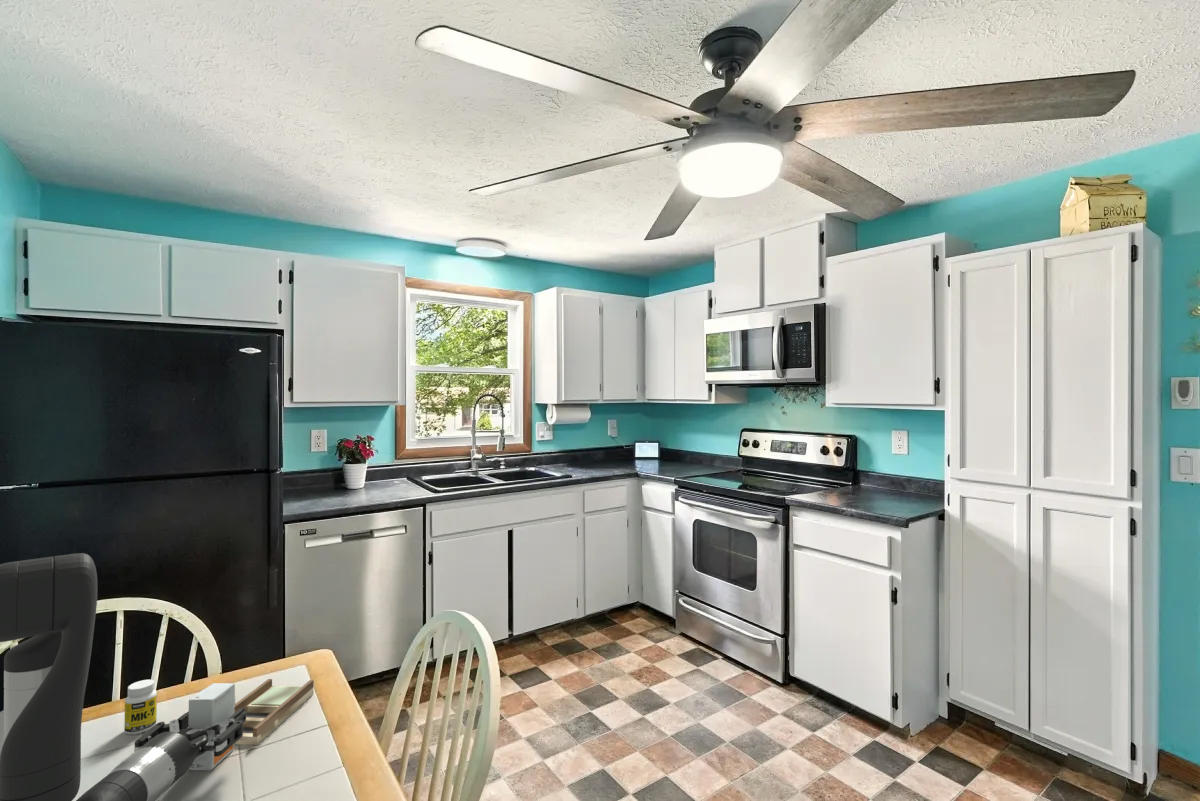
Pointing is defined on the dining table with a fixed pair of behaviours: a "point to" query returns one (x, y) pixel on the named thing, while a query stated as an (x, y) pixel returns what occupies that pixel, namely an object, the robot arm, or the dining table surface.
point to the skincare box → (211, 718)
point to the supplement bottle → (140, 707)
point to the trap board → (269, 709)
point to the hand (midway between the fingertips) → (219, 713)
